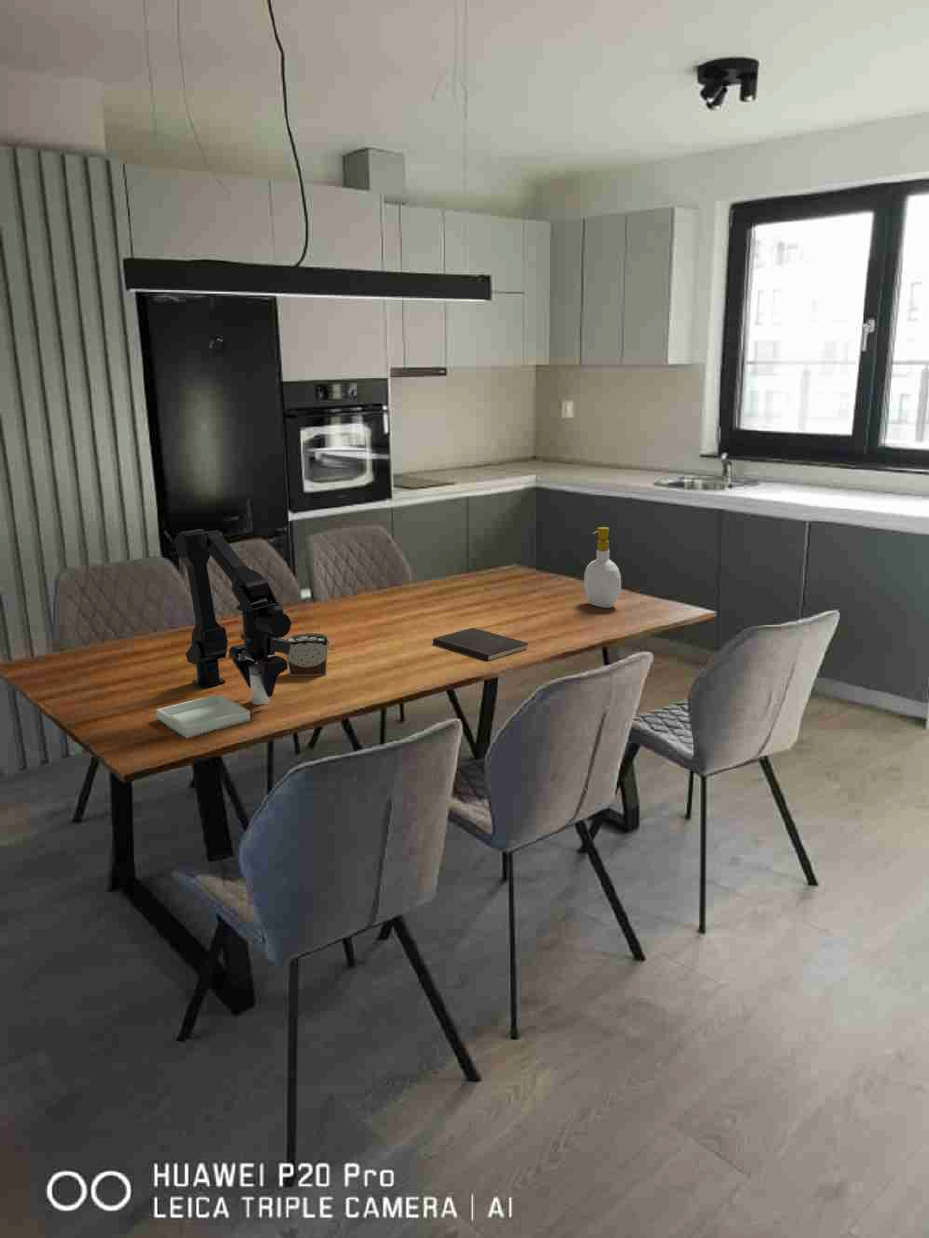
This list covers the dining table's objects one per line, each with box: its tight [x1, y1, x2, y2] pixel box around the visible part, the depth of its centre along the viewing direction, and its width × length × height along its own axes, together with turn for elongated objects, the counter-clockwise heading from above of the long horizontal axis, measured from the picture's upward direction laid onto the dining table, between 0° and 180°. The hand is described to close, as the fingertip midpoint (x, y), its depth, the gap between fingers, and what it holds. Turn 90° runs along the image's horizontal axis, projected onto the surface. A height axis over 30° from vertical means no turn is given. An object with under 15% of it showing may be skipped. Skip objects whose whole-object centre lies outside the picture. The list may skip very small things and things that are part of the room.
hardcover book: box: [432, 627, 529, 662], centre depth 276 cm, size 16×23×2 cm
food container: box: [284, 632, 331, 677], centre depth 255 cm, size 12×6×10 cm, turn 92°
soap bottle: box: [583, 526, 622, 609], centre depth 314 cm, size 14×9×26 cm, turn 40°
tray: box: [156, 693, 251, 739], centre depth 223 cm, size 16×16×2 cm
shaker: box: [249, 663, 271, 706], centre depth 234 cm, size 5×5×9 cm
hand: (260, 691), depth 234 cm, fingers open, 9 cm apart
